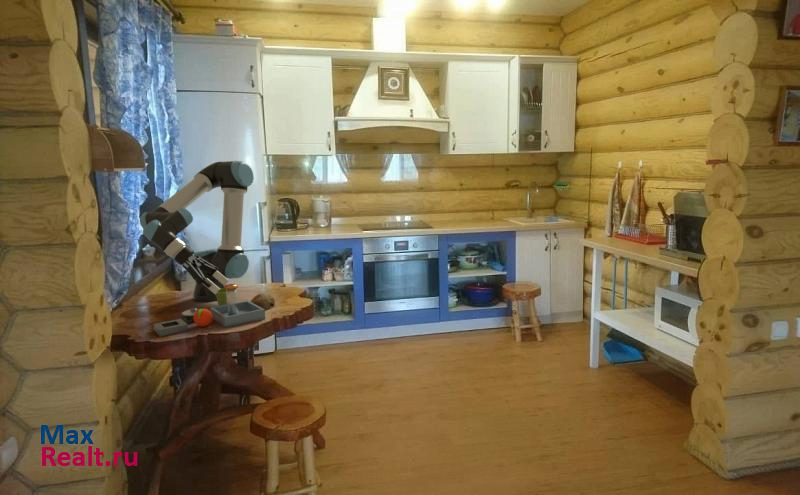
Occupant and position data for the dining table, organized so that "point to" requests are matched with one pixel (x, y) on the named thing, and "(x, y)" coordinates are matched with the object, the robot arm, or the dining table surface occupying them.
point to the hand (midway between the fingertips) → (222, 287)
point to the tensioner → (175, 324)
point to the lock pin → (231, 298)
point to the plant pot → (221, 297)
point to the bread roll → (263, 301)
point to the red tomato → (203, 317)
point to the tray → (245, 314)
